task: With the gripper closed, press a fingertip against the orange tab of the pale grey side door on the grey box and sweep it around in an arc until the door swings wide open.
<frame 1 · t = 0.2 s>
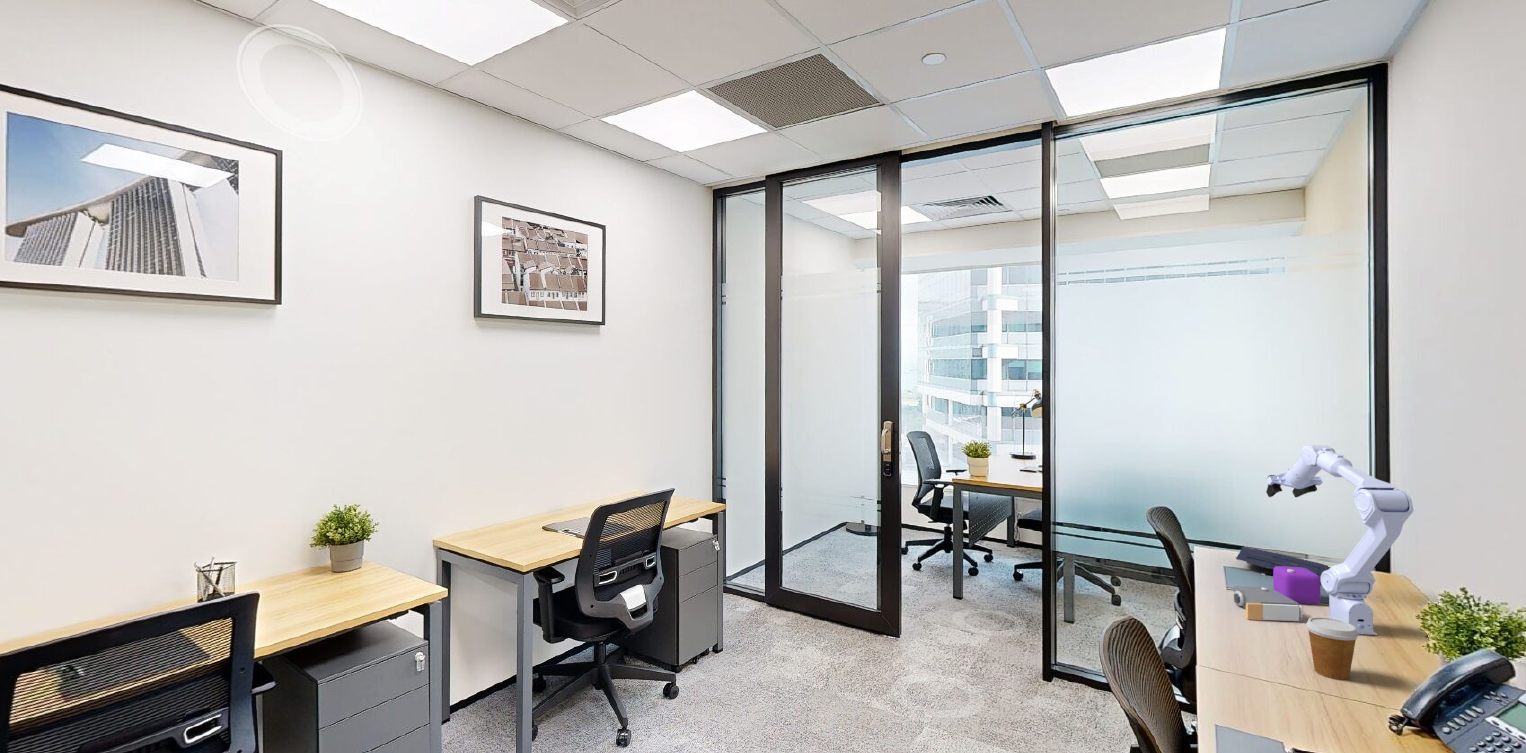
hand: (1281, 494, 209), 32 cm above the table, fingers open, 7 cm apart
side door: (1272, 612, 187), point 3 cm above the table, hinge at 0.0°
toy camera: (1293, 598, 204), on the table
dark grey slab: (1290, 572, 230), on the table
disposable coffee cup: (1331, 674, 155), on the table
grey box: (1265, 611, 194), on the table
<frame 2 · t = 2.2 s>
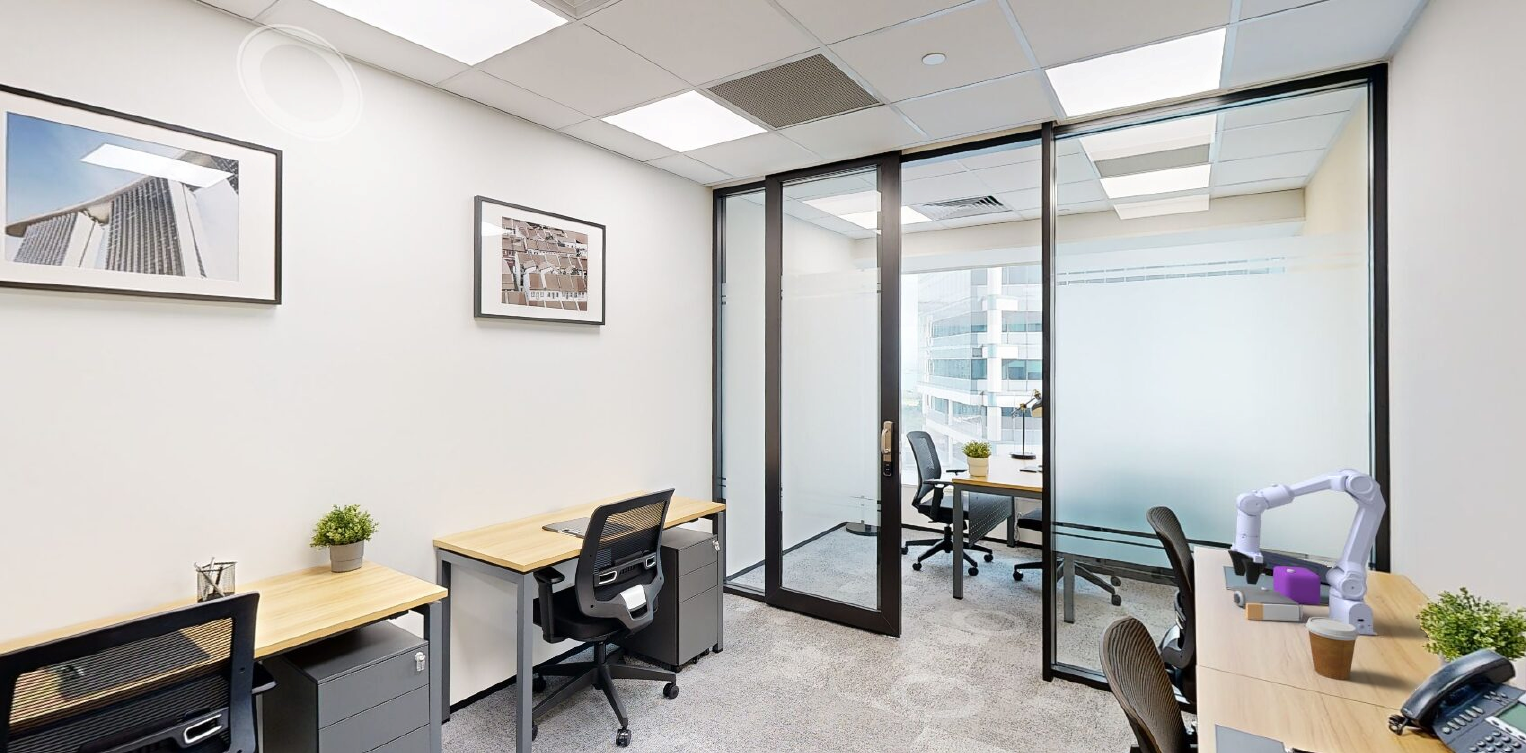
hand: (1245, 579, 191), 10 cm above the table, fingers open, 7 cm apart
nothing on the table moved.
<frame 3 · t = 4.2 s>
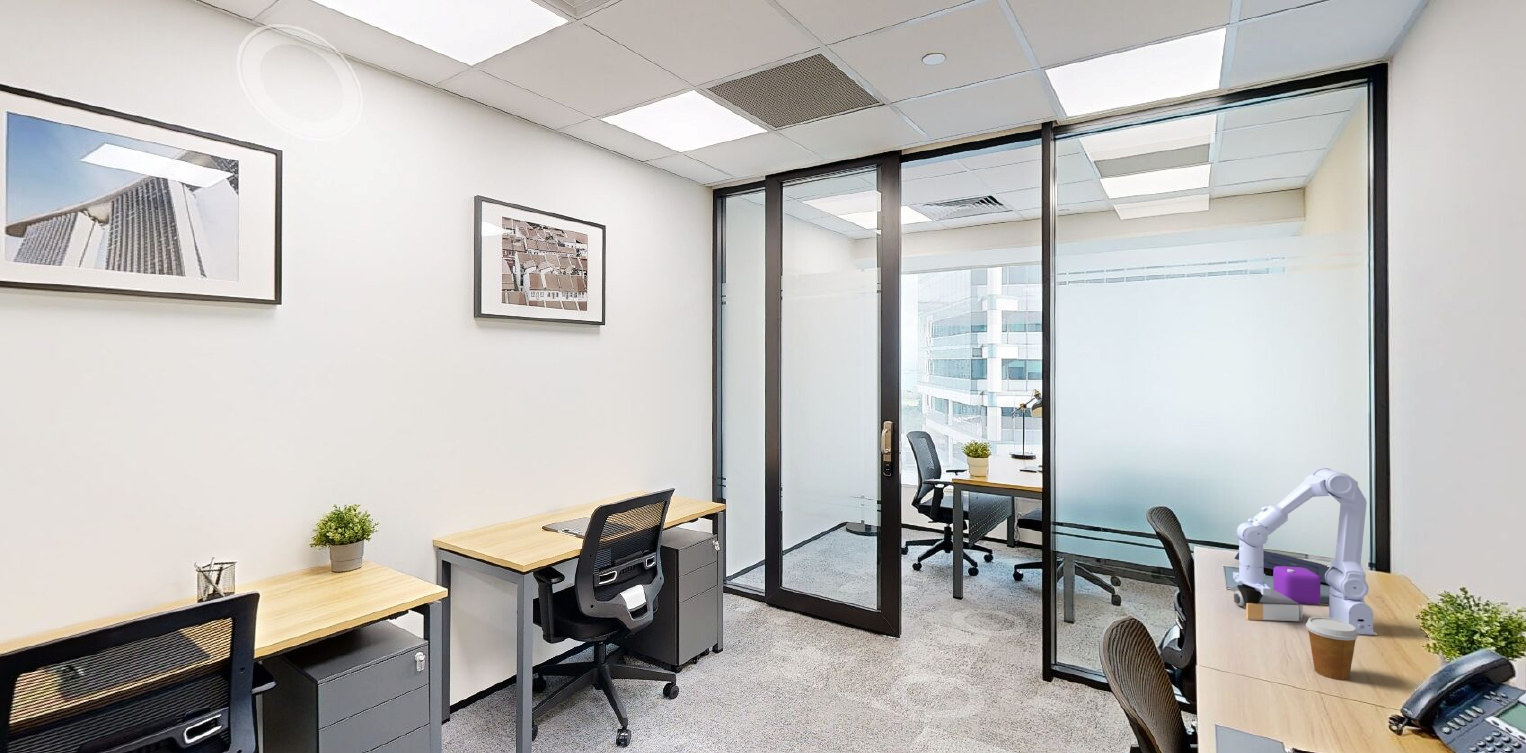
hand: (1251, 611, 189), 2 cm above the table, fingers closed
side door: (1272, 612, 187), point 3 cm above the table, hinge at 0.4°, touching gripper
everything else where it was.
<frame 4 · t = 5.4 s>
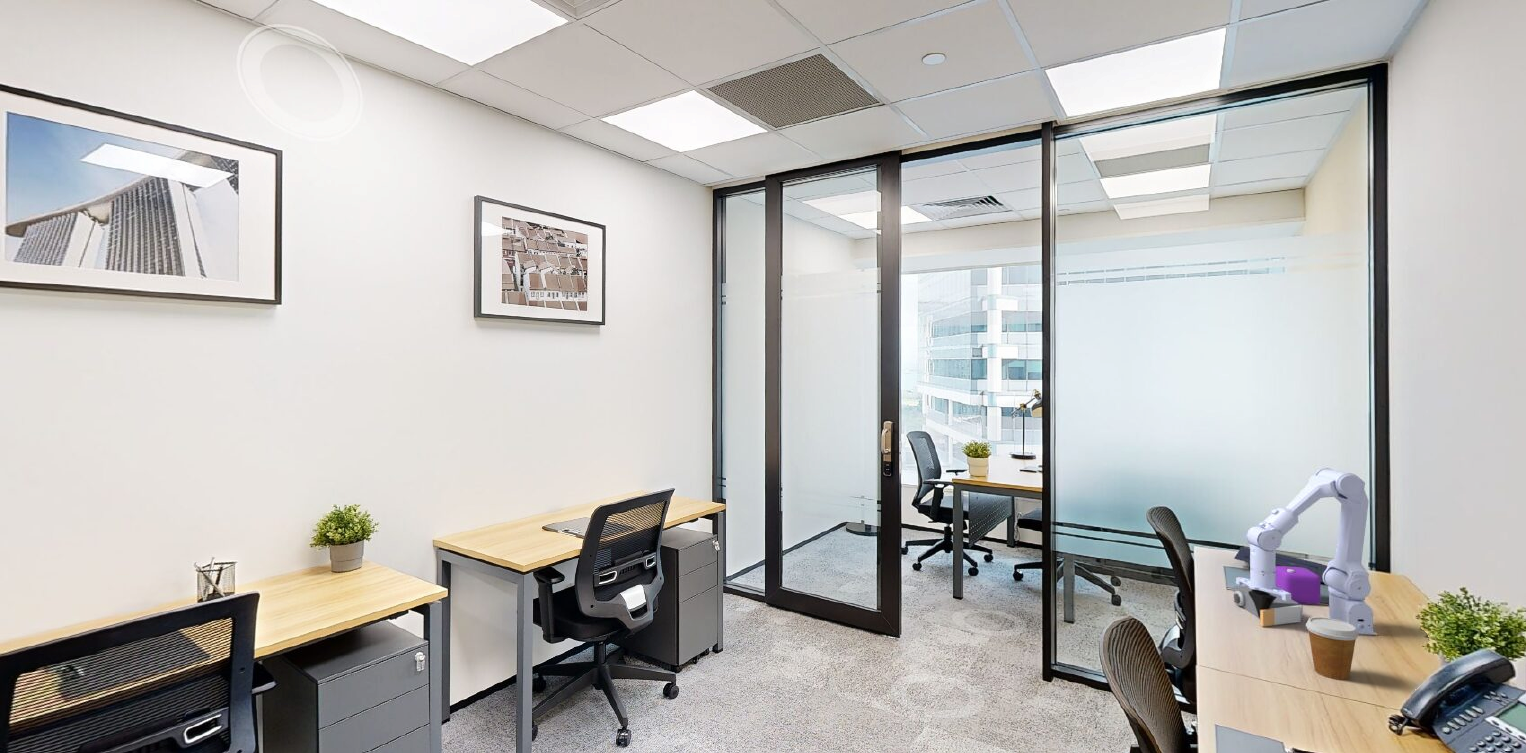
hand: (1262, 617, 184), 2 cm above the table, fingers closed
side door: (1280, 615, 184), point 3 cm above the table, hinge at 22.2°, touching gripper
everything else where it was.
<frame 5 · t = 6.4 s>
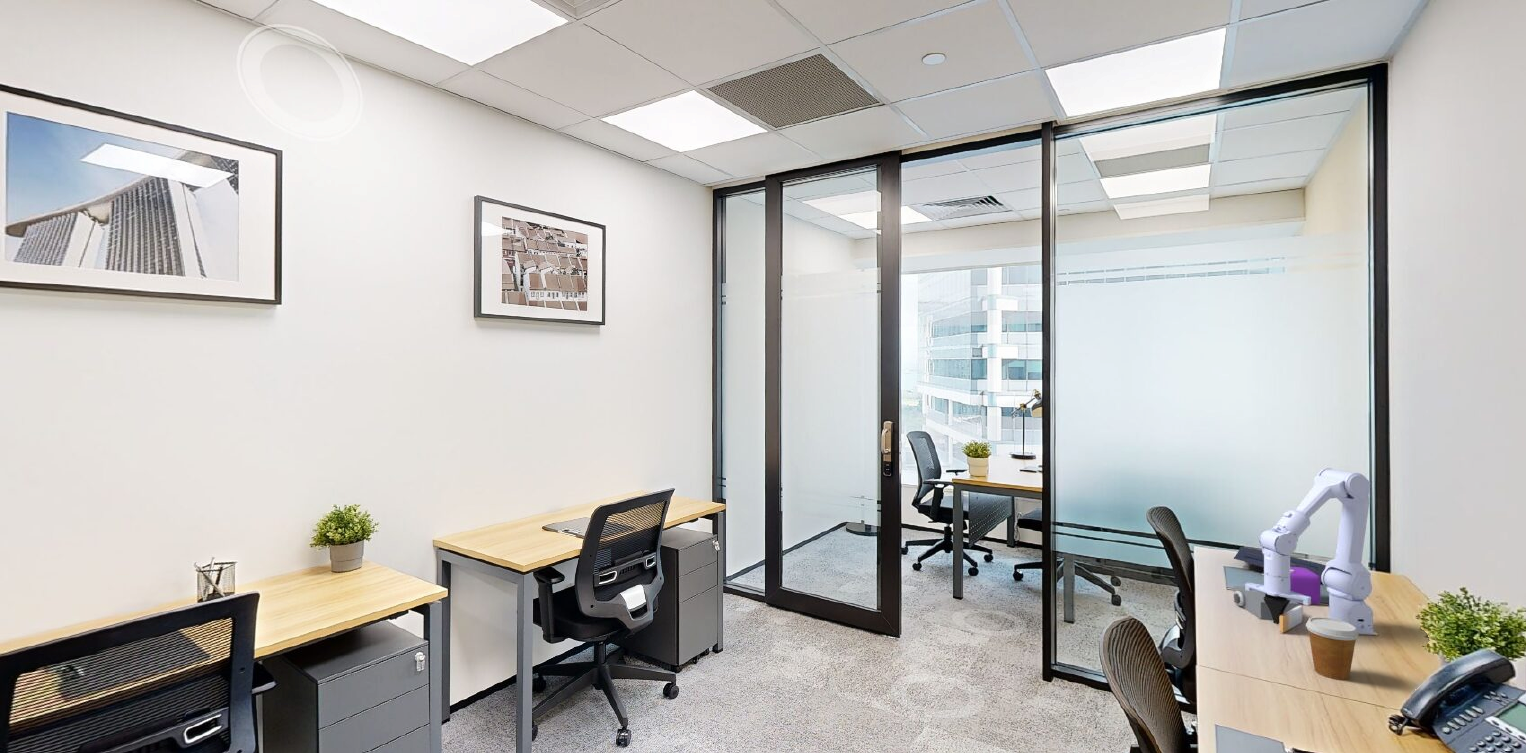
hand: (1277, 623, 180), 2 cm above the table, fingers closed
side door: (1290, 619, 182), point 3 cm above the table, hinge at 42.2°, touching gripper
everything else where it was.
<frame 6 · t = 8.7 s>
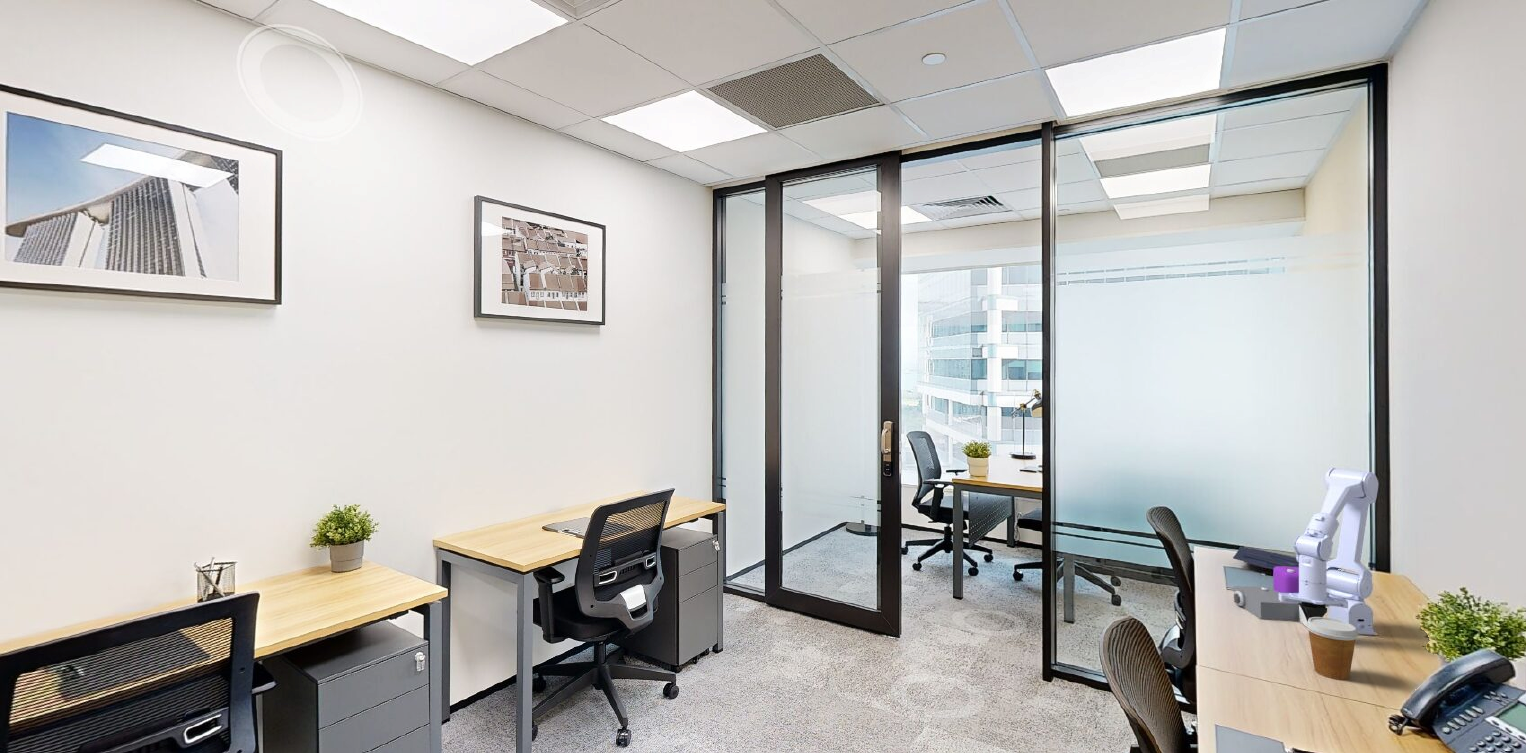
hand: (1312, 630, 175), 2 cm above the table, fingers closed
side door: (1312, 623, 179), point 3 cm above the table, hinge at 79.3°, touching gripper
everything else where it was.
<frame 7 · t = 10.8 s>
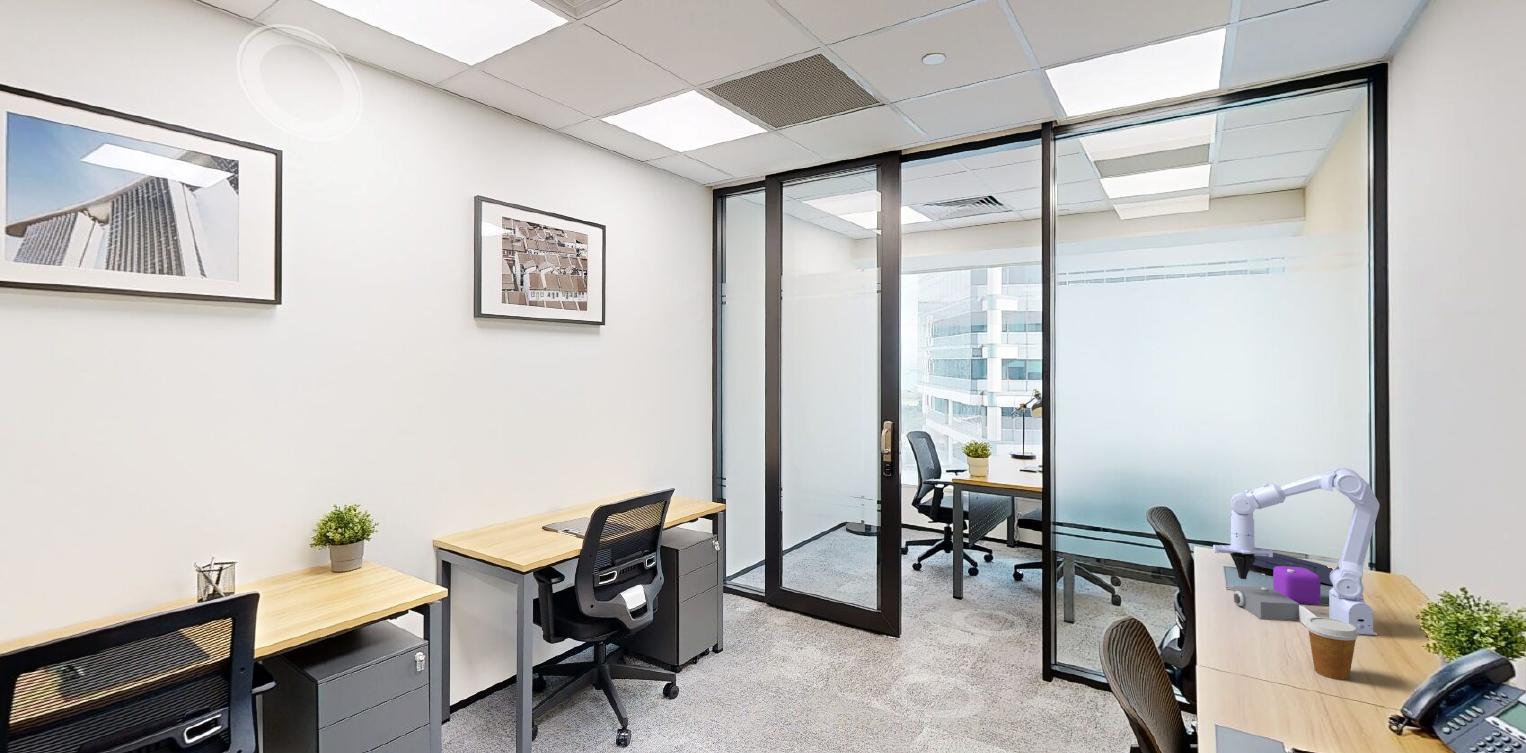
hand: (1242, 578, 195), 10 cm above the table, fingers closed
side door: (1313, 623, 179), point 3 cm above the table, hinge at 80.0°
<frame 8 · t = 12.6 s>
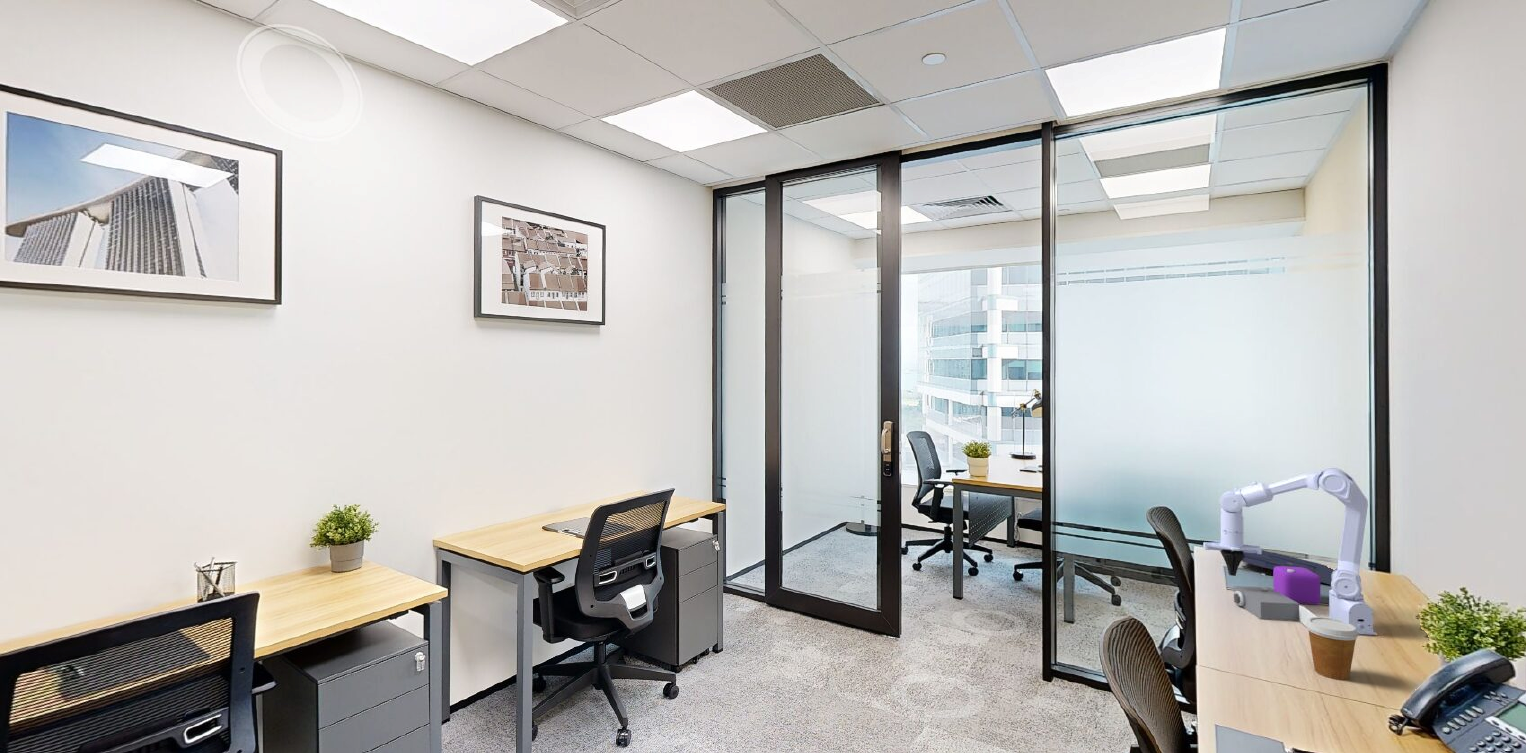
hand: (1232, 574, 199), 9 cm above the table, fingers closed
at the end: side door at +80° (first picture: +0°); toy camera moved 0.3 cm from its start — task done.
